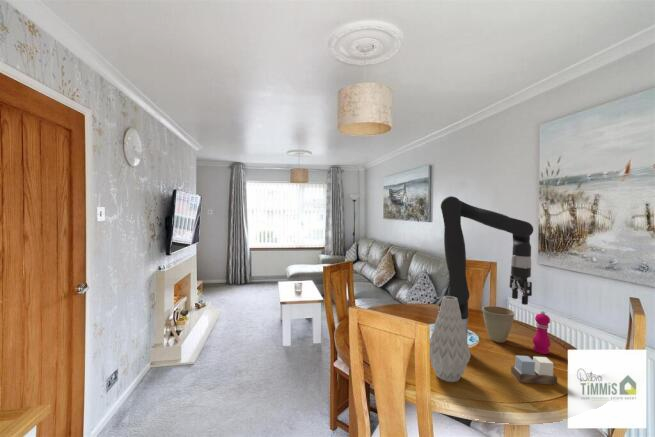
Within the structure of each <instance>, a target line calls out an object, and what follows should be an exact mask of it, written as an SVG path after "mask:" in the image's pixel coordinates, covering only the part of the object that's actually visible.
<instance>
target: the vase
mask: <svg viewBox="0 0 655 437" xmlns="http://www.w3.org/2000/svg"><path fill="white" fill-rule="evenodd" d="M429 340H430V356H429V357H430V363H431V366H432V368H433V370H434V372H435V375H436V377H437V378H439V379H440V380H442V381H444V382H448V383H456V382H459V380H460V379H461V377H462V375H464V373H465V370H466V368H467V365H468V363H469V362H470V358H471V352H470V346H469V344H468V336H467V337H466V334H465V330H464V325H463V322H462V318H461V312H460V309H459V303H458V299H457V298H456V297H452V296H448V295H444V296H442V300H441V304H440V306H439V311H438V313H437V317H436V320H435V322H434V325H433V329H432V333H431V335H430V338H429Z"/></svg>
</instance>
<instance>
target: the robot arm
mask: <svg viewBox="0 0 655 437" xmlns="http://www.w3.org/2000/svg"><path fill="white" fill-rule="evenodd" d="M440 210H441V214H442V219H443V227H444V231H443V232H444V236H443V238H444V239H443V242H444V243H443V244H444V245H443V246H444V256H445V262H446V267H447V271H448V276H449V280H448V281H449V286H448V288H447V296H452V297H456V298H457V299H458V303H459V309H460V312H461V318H462V322H463V325H464V330H465V334H466V337H467V338H468V337H469V336H468V334H469V333H468V331H469V328H468V327H469V299H470V290H469V287H468V281H467V274H466V273H467V256H466V255H467V254H466V253H467V251H466V243H465V242H466V241H465V237H464V234H463V229H462V221H461V219H462V218H466V219H469V220H473V221H475V222H476V223H477V222H478V223H479V224H482V225H485V226H487V227H491V228H493V229H497V230H500V231H504V232H507V233H509V234H512V255H511V261H510V262H511V265H510V268H511V269H510V276H509V288H510V289H511V298H512V299H515V300H516V299H517V300H518V299H519V297H518V296H519V292H520V293H521V304H522V305H526V306H527V305H528V303H529V297H532V296H533V292H532V291H533V289H532V288H533V286H532V285H533V283H532V281H528V278H531V276H532V244H531V243H530V240H531V236H532V234H533V233H534V226H533V225H532V224H531V223H530V222H529V221H525V220H521V219H518V218H513V217H510V216H508V215H505V214H502V213H499V212H497V211H492V210H489V209H485V208H480V207H478V206H474V205H471V204H468V203H466V202H464V201H463V200H460V199H459V198H457V197H456V196H452V195H451V196H447V197H445V198H443V200H442V201H441V202H440Z"/></svg>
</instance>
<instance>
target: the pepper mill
mask: <svg viewBox="0 0 655 437" xmlns="http://www.w3.org/2000/svg"><path fill="white" fill-rule="evenodd" d="M534 320H535V322H536V323H535V326H536V333H535V334H534V336H533V337H532V343H533V351H534V352H536V353H538V354H540V355H541V354H542V355H548V354H549V353H550V347H551V344H552V343H551V340H550V337H549V335H548V334H549V333H548V329H549V324H550V323H551V319H550V316H548V315H547V314H546V312H545V310H544V311H543V310H541V311H540V313H537V314H536V315H535V317H534Z"/></svg>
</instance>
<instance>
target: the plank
mask: <svg viewBox="0 0 655 437" xmlns="http://www.w3.org/2000/svg"><path fill="white" fill-rule="evenodd" d="M510 374H512V376H513V377H514V378H515V379H516V380H517V381H518V382H519V383H527V384H529V383H530V384H542V385H552V384H557V385H558V377H557V376H556V375H555V374H554V373H553V376H552V375H540V374H538V373H537V372H536V371H535V374H522V373H520V372H519V371H518V370H517V369H516V368H515V365H511V366H510Z"/></svg>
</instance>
